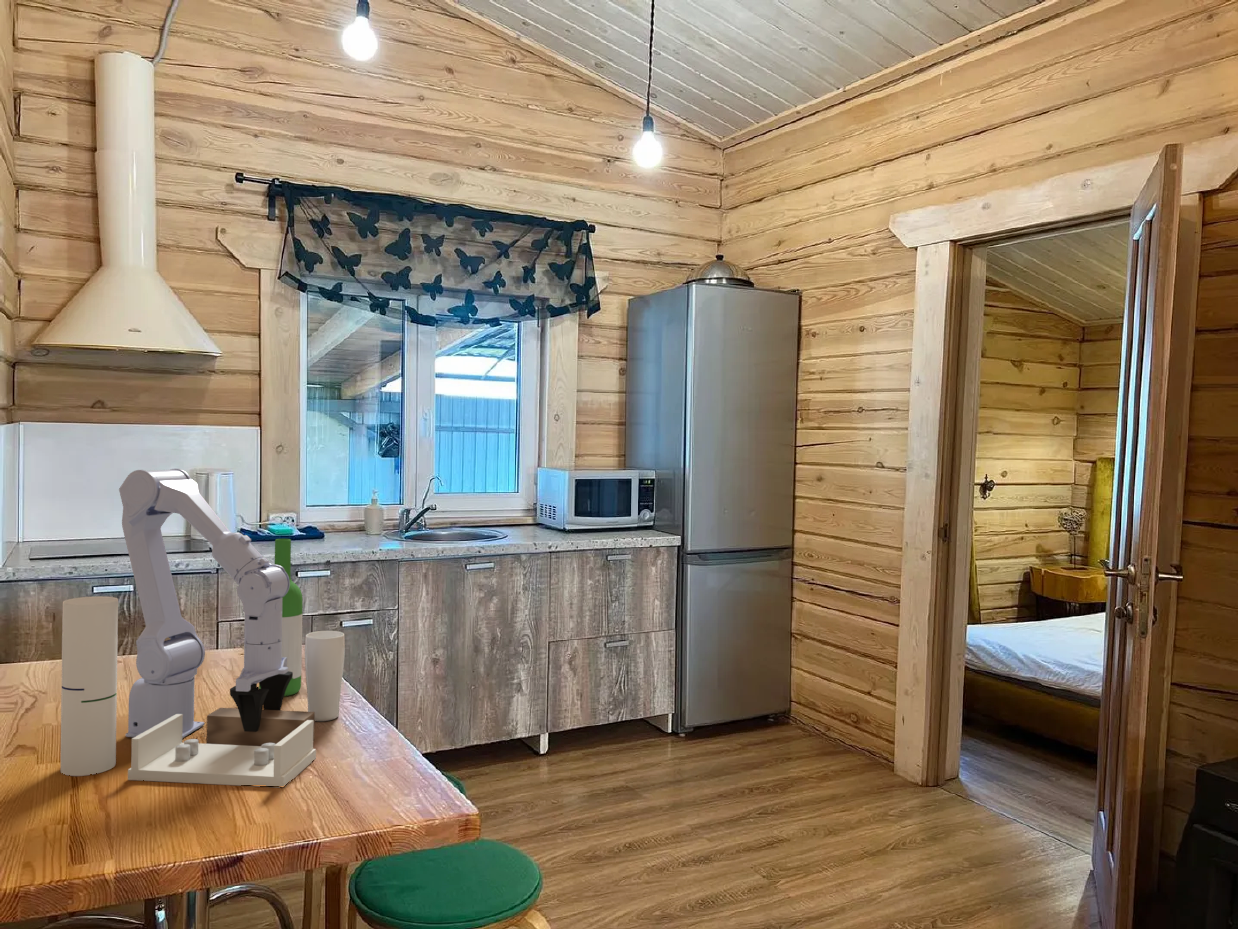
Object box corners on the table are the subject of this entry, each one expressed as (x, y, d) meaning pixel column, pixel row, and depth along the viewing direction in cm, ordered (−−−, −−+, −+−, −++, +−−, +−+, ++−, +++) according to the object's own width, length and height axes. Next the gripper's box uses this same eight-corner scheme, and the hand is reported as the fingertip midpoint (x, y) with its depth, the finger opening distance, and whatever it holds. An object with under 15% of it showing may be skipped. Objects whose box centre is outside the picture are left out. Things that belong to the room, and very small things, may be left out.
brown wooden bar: (206, 746, 147) (207, 715, 147) (219, 737, 151) (220, 707, 151) (303, 751, 146) (304, 720, 146) (314, 742, 151) (314, 712, 150)
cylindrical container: (75, 758, 139) (77, 596, 138) (124, 758, 140) (126, 596, 139) (50, 776, 132) (52, 604, 131) (101, 776, 133) (104, 605, 132)
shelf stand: (127, 779, 131) (128, 738, 131) (172, 751, 143) (173, 713, 143) (283, 787, 130) (284, 746, 130) (315, 758, 142) (316, 720, 142)
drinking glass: (331, 725, 158) (332, 639, 158) (295, 721, 160) (297, 637, 159) (350, 714, 165) (351, 632, 165) (316, 710, 166) (317, 629, 166)
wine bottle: (252, 691, 177) (255, 538, 177) (291, 685, 183) (294, 536, 182) (267, 700, 172) (270, 542, 171) (307, 694, 177) (310, 540, 176)
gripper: (267, 652, 141) (266, 739, 141) (304, 632, 155) (303, 711, 156) (223, 650, 141) (221, 737, 142) (264, 631, 156) (263, 709, 156)
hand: (261, 723), depth 149 cm, fingers open, 7 cm apart
